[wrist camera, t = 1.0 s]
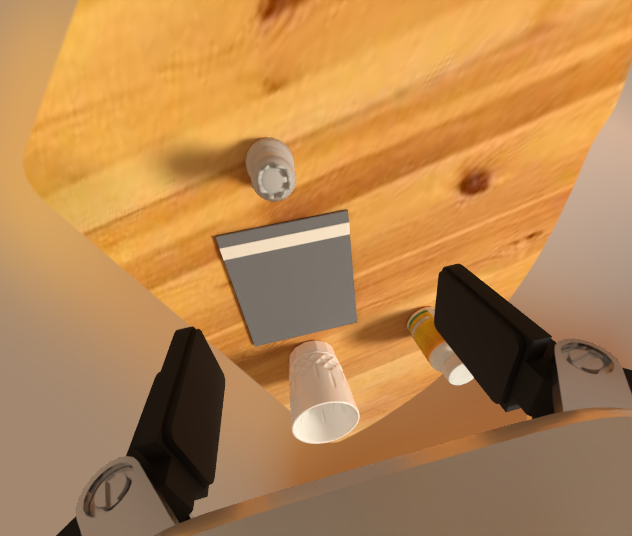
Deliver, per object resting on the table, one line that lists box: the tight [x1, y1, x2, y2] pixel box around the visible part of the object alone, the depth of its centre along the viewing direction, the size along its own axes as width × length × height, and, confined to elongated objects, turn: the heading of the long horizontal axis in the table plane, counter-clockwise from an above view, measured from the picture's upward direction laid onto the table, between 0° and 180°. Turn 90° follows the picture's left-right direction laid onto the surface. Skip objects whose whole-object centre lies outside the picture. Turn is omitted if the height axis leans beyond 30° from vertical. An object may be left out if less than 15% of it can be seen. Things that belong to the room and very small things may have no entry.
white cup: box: [289, 340, 360, 444], centre depth 36 cm, size 8×8×10 cm
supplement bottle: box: [407, 307, 474, 385], centre depth 36 cm, size 5×5×10 cm
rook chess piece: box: [245, 138, 296, 202], centre depth 23 cm, size 4×4×8 cm
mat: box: [216, 210, 357, 346], centre depth 33 cm, size 16×14×1 cm
